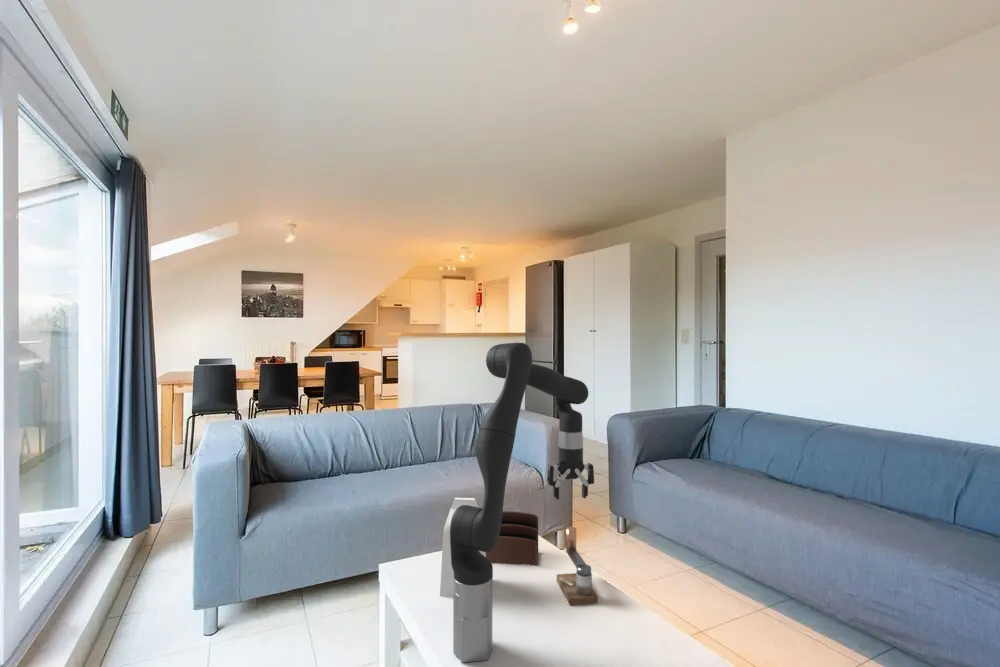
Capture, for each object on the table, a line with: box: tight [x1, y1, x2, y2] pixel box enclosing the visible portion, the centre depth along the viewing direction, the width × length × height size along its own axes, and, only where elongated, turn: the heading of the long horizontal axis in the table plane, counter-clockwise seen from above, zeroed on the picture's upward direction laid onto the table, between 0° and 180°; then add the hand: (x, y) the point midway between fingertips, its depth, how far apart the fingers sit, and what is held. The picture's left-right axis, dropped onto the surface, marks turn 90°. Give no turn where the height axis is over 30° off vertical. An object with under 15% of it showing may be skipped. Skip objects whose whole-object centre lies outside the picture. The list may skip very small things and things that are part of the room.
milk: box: [439, 497, 486, 598], centre depth 148 cm, size 12×12×26 cm
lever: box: [565, 526, 592, 576], centre depth 148 cm, size 17×4×8 cm, turn 8°
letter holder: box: [486, 510, 539, 566], centre depth 169 cm, size 10×20×14 cm, turn 83°
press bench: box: [556, 571, 599, 606], centre depth 146 cm, size 14×8×7 cm, turn 8°
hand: (570, 498), depth 155 cm, fingers open, 8 cm apart
